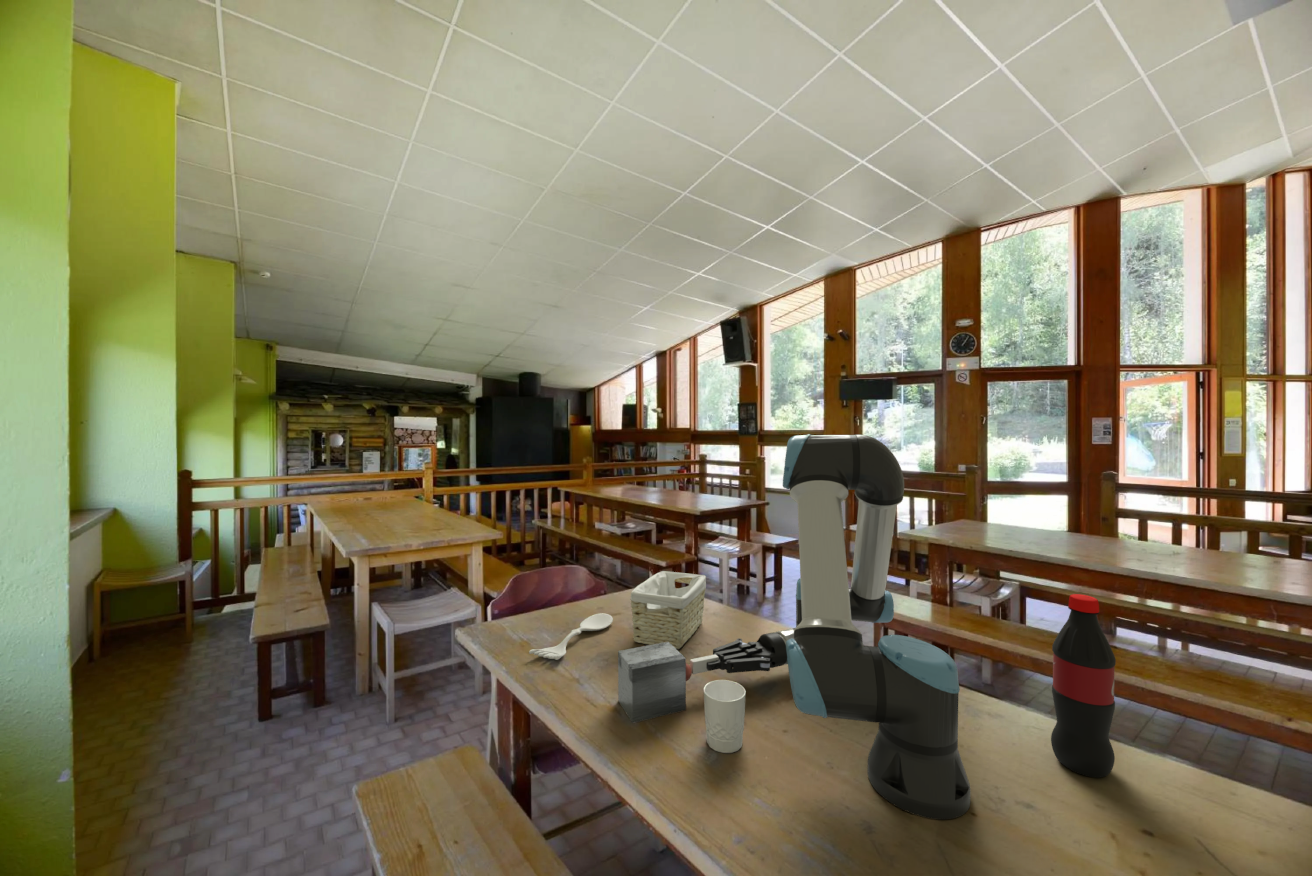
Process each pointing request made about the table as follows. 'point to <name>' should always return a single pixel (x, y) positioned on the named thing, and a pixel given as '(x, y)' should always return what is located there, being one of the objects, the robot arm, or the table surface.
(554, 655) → the white plastic spork
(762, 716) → the table surface
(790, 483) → the robot arm
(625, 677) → the block
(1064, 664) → the cola bottle
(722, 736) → the white cup
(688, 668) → the plunger
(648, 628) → the storage basket
